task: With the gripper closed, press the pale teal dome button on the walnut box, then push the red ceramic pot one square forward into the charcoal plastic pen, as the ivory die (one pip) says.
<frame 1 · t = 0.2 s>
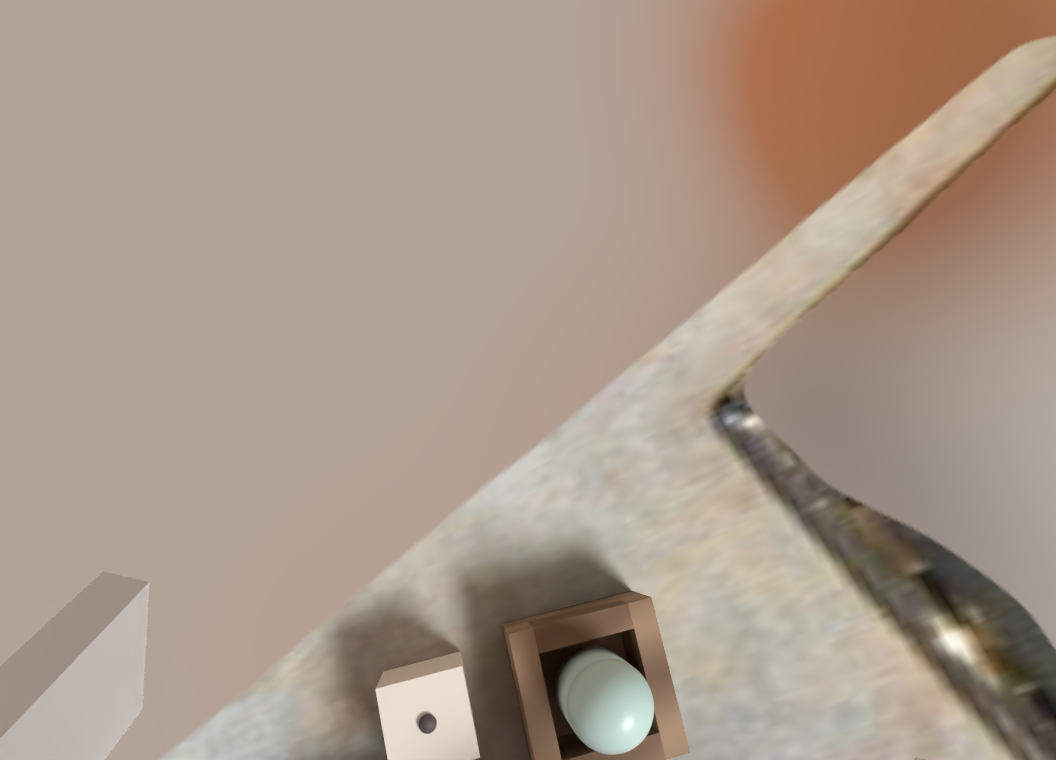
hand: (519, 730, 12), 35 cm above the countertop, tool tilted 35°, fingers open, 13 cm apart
die: (429, 701, 44), on the countertop
button box: (584, 677, 45), on the countertop
dome button: (605, 700, 39), point 6 cm above the countertop, slide at 0.0 cm
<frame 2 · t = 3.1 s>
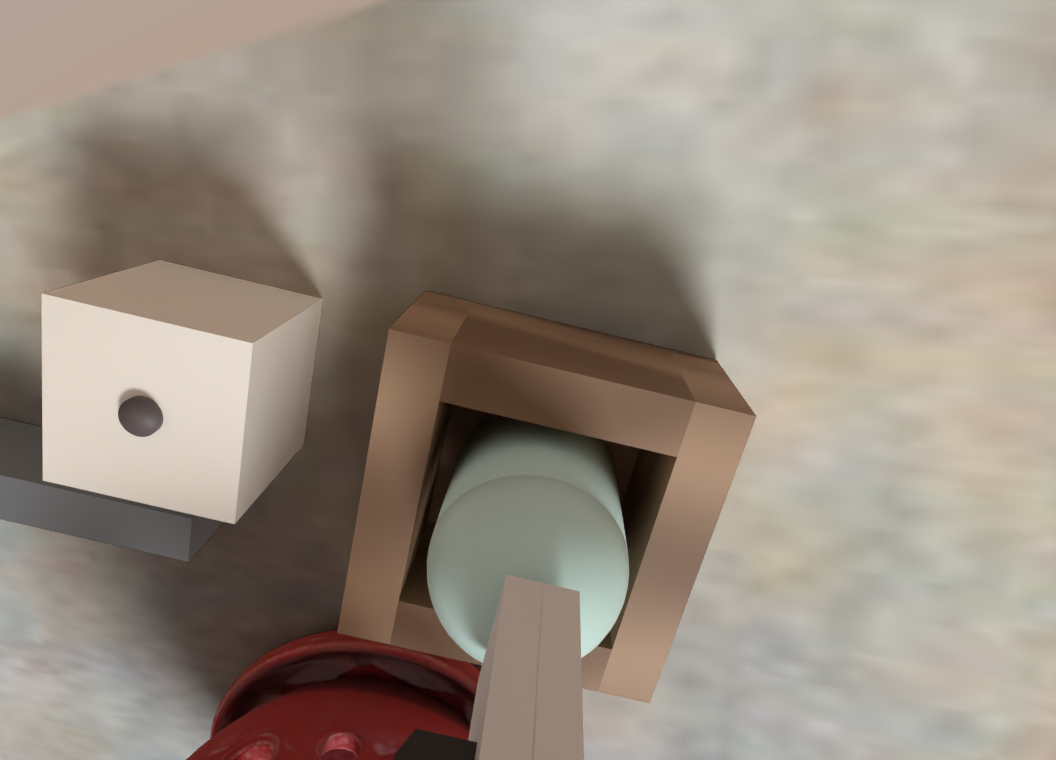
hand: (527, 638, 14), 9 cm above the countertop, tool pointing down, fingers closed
plant pot: (384, 734, 26), on the countertop
die: (235, 355, 22), on the countertop
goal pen: (18, 658, 26), on the countertop
button box: (537, 457, 22), on the countertop
dome button: (530, 541, 17), point 5 cm above the countertop, slide at 1.4 cm, touching gripper
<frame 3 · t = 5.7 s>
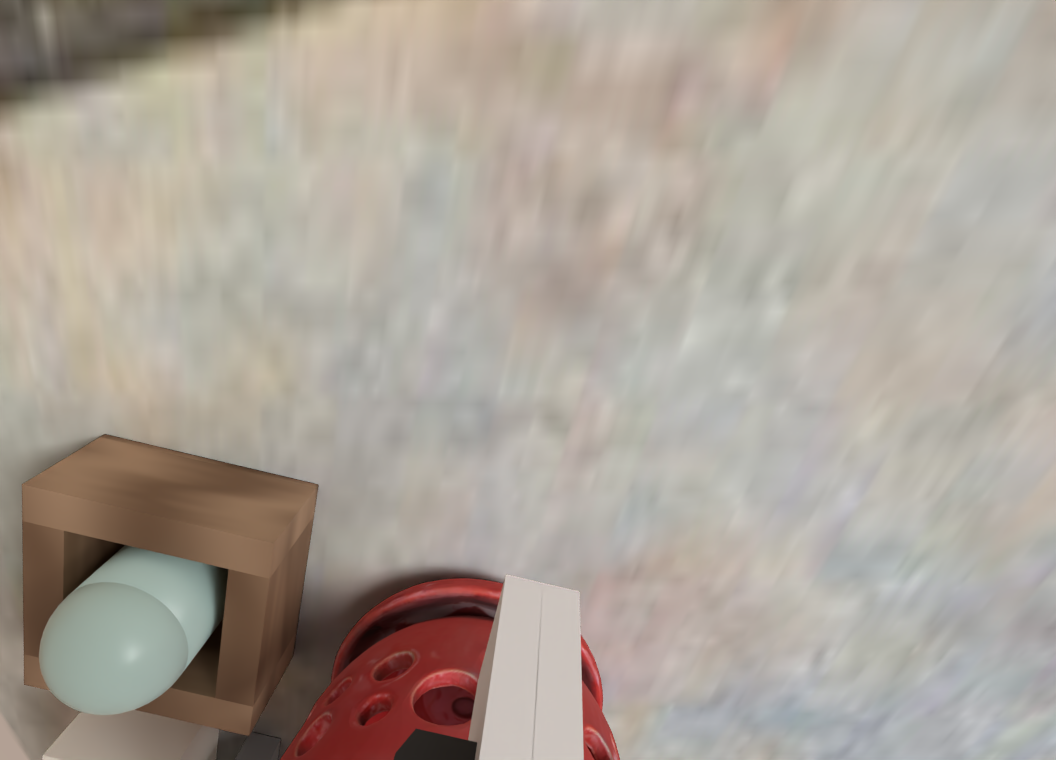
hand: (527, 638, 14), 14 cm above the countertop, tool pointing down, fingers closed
plant pot: (481, 668, 31), on the countertop
die: (169, 718, 33), on the countertop
button box: (203, 550, 30), on the countertop
dome button: (139, 620, 25), point 5 cm above the countertop, slide at 1.6 cm
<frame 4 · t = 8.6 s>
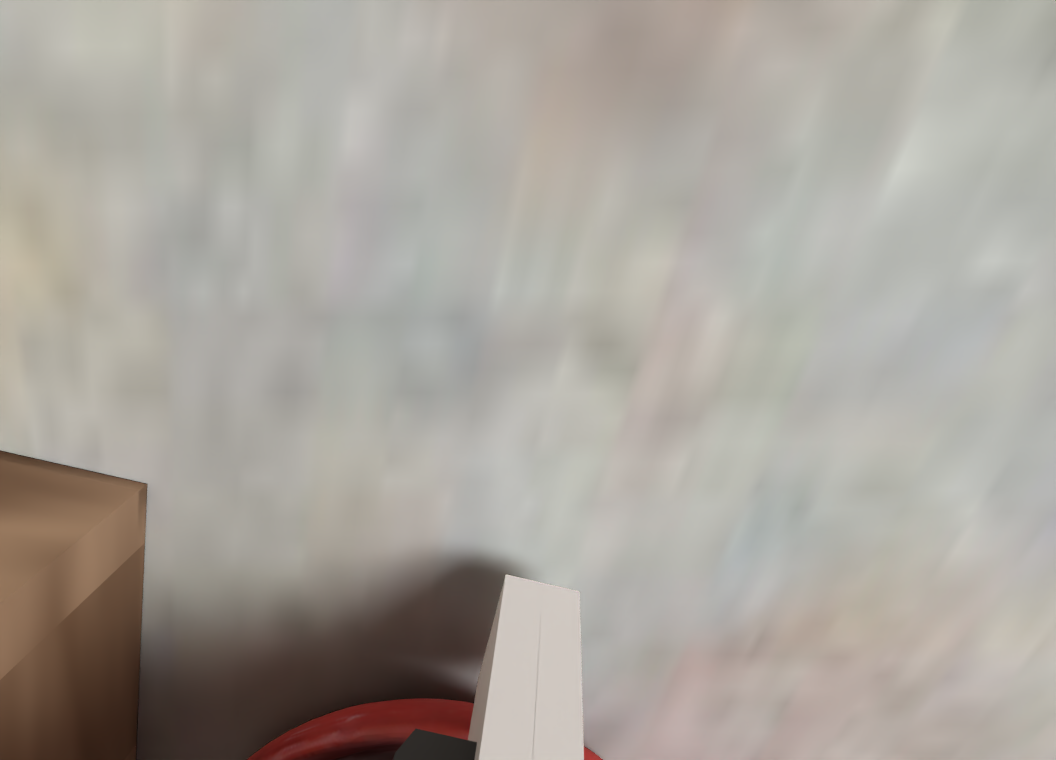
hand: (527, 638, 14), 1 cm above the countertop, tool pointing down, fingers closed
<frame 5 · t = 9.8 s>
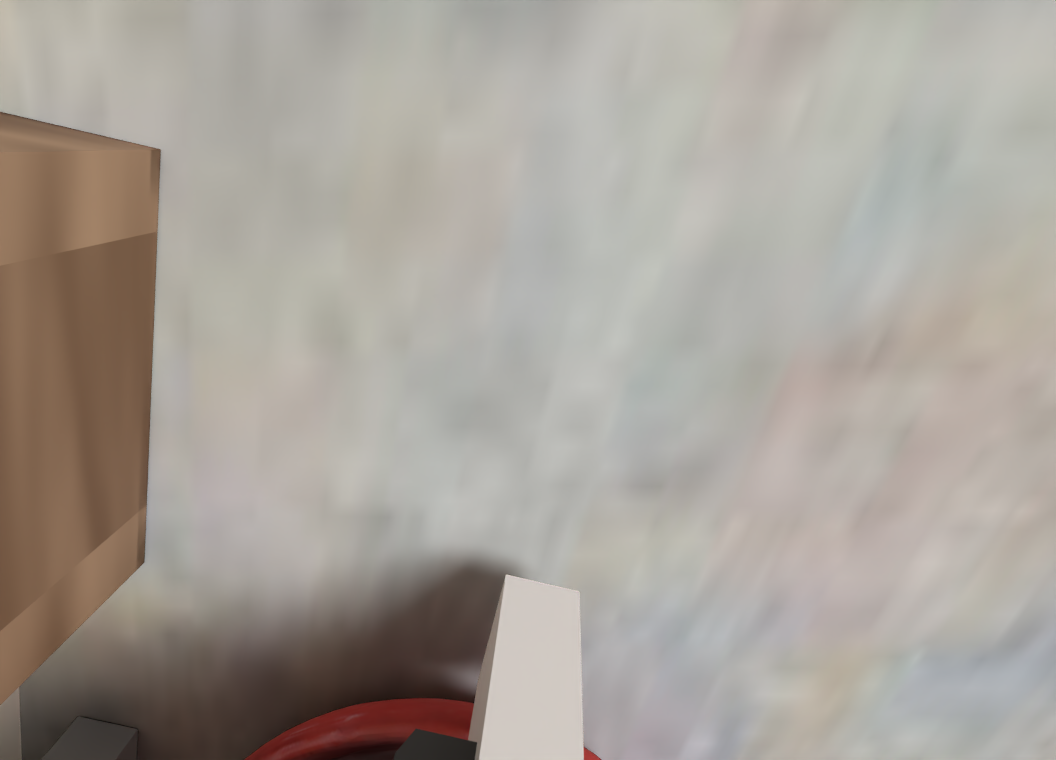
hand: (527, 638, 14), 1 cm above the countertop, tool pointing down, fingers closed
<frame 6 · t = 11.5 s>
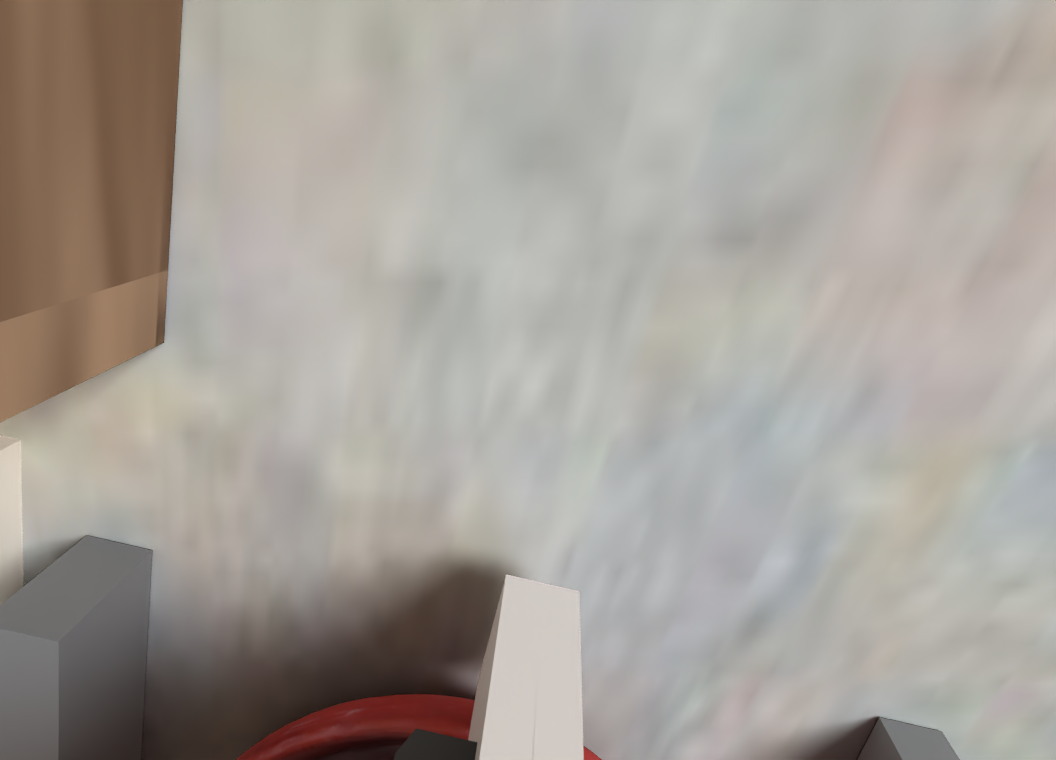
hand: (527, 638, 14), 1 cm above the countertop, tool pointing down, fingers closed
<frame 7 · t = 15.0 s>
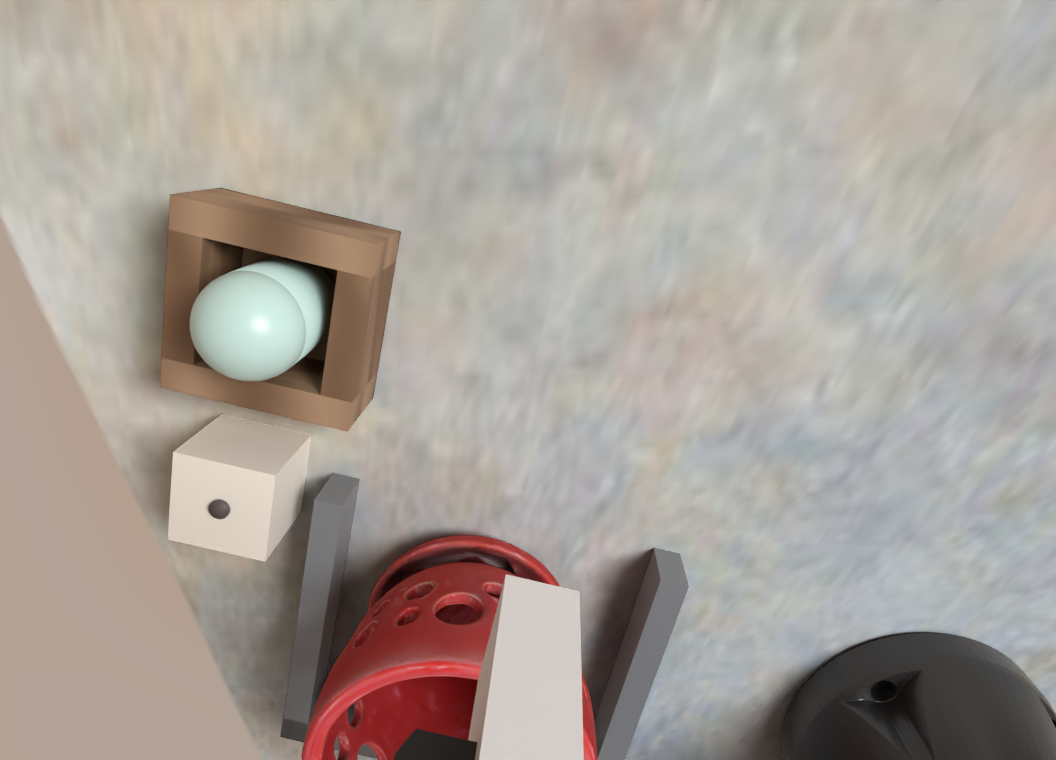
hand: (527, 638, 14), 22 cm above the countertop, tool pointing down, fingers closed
plant pot: (480, 606, 41), on the countertop
die: (262, 463, 38), on the countertop
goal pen: (480, 620, 41), on the countertop
button box: (300, 297, 35), on the countertop
dome button: (261, 320, 31), point 5 cm above the countertop, slide at 1.6 cm
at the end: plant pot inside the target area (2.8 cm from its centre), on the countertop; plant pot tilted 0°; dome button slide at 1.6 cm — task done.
